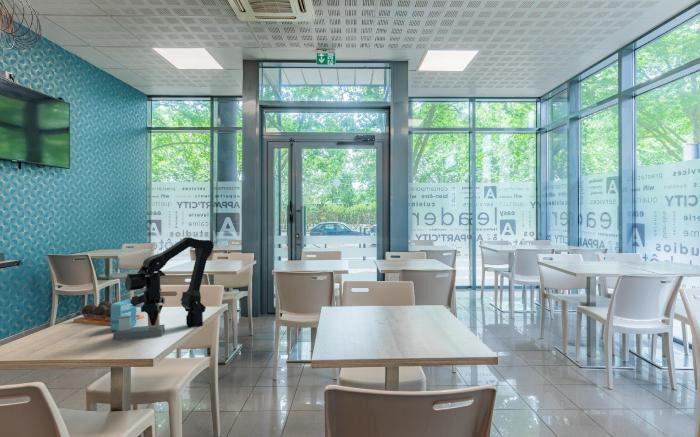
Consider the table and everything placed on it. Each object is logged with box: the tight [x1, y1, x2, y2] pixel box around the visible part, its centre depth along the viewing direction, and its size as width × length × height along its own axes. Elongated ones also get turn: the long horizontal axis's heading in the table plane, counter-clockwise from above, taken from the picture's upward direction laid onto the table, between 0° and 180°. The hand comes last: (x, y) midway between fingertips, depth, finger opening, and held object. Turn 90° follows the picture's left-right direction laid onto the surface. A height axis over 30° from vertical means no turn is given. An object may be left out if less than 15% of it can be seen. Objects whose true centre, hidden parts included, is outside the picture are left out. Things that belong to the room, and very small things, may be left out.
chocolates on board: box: [73, 300, 145, 327], centre depth 209 cm, size 28×17×8 cm, turn 67°
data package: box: [110, 299, 137, 332], centre depth 191 cm, size 12×4×12 cm, turn 175°
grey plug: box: [118, 315, 131, 331], centre depth 176 cm, size 4×3×8 cm
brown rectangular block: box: [146, 311, 161, 329], centre depth 179 cm, size 4×3×8 cm
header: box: [112, 324, 165, 341], centre depth 177 cm, size 18×8×3 cm, turn 105°
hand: (153, 324), depth 179 cm, fingers closed on brown rectangular block, 3 cm apart
